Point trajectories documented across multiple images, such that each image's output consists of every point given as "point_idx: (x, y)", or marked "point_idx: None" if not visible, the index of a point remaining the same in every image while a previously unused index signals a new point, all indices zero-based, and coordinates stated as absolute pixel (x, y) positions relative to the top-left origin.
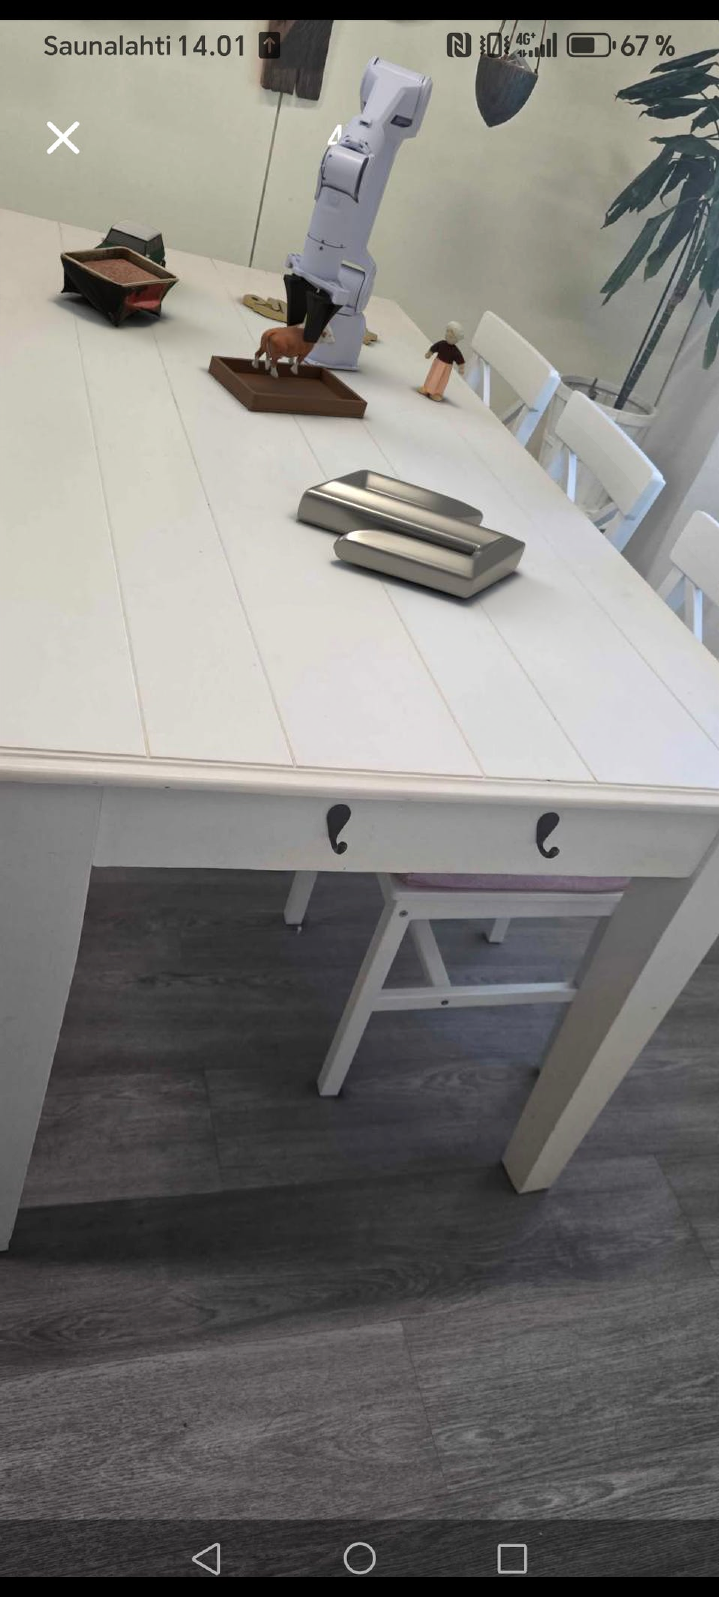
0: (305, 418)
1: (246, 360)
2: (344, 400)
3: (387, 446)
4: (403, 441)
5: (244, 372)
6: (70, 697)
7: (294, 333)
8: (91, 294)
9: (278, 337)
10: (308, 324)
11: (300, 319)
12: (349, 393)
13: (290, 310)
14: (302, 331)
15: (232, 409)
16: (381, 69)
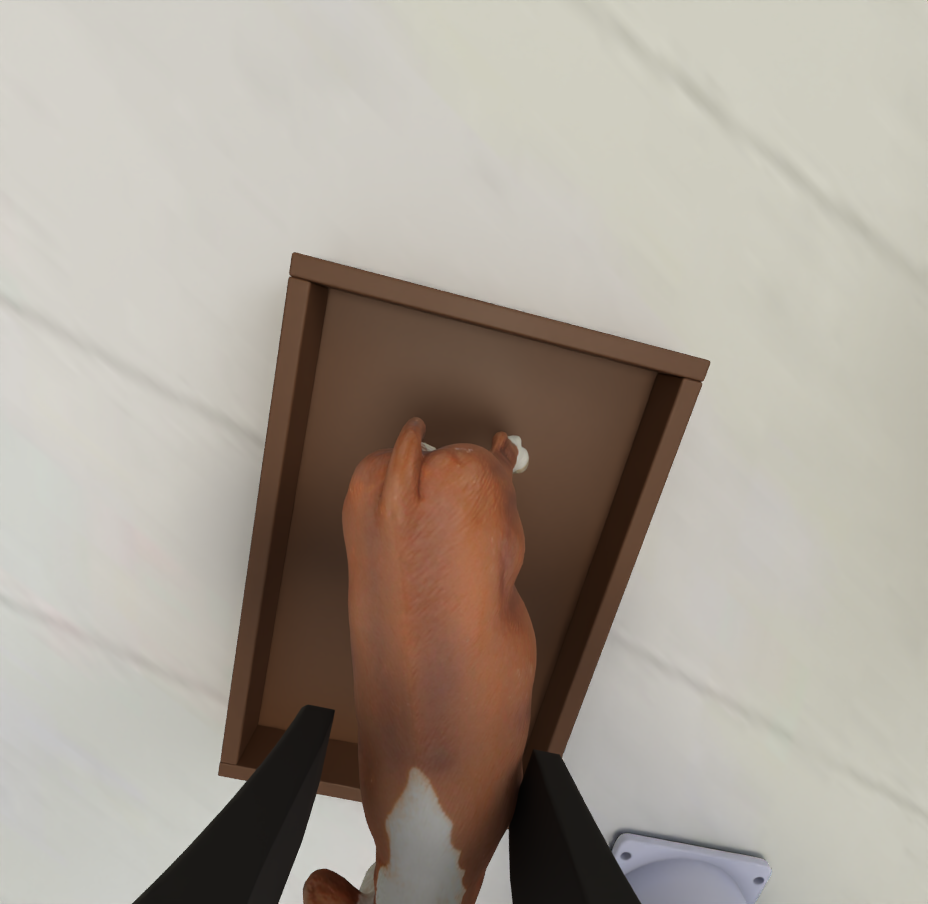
0: (246, 485)
1: (630, 517)
2: (233, 689)
3: (32, 649)
4: (76, 738)
5: (611, 503)
6: None
7: (376, 687)
8: None
9: (352, 507)
10: (224, 810)
11: (522, 881)
12: (323, 770)
13: (570, 870)
14: (379, 767)
15: (334, 176)
16: None
